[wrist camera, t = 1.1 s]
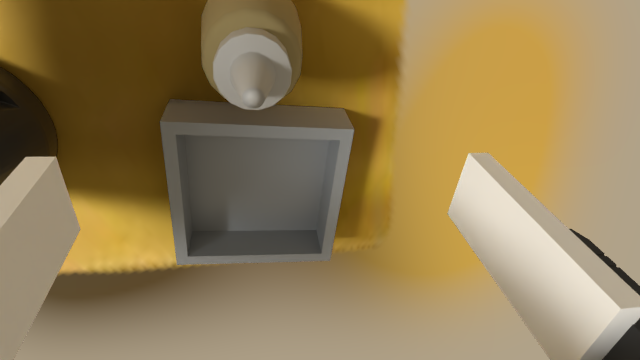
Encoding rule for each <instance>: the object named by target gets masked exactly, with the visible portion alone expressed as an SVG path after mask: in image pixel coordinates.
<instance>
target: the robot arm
mask: <svg viewBox="0 0 640 360" xmlns="http://www.w3.org/2000/svg"><path fill="white" fill-rule="evenodd" d="M57 148H58V143H57V135H56V131H55V128H54V125H53V122H52V120H51V118H50V116H49V114H48V112H47V111H46V109H45V108H44V106H43V105H42V103H41V102H40V101H39V100H38V98H37V97H36V96H35V95H34V94H33V93H32V92H31V91H30V90H29V89H28V88H27V87H26V86H25V85H24V84H23V83H22V82H21V81H19V80H18V79H17V78H16V77H14V76H13V75H12V74H10V73H9V72H7V71H6V70H4V69H3V68H1V67H0V360H14V358H15V356H16V354H17V352H18V350H19V348H20V346H21V344H22V343H23V341H24V339H25V337H26V335H27V333H28V331H29V329H30V327H31V325H32V323H33V321H34V319H35V317H36V315H37V313H38V311H39V309H40V307H41V306H42V303H43V302H44V299H45V297H46V296H47V294H48V292H49V290H50V288H51V286H52V284H53V282H54V280H55V278H56V276H57V274H58V272H59V270H60V268H61V266H62V264H63V262H64V261H65V259H66V257H67V255H68V253H69V251H70V249H71V247H72V245H73V243H74V241H75V239H76V237H77V235H78V233H79V231H80V226H79V223H78V220H77V217H76V214H75V211H74V209H73V206H72V203H71V200H70V197H69V194H68V191H67V188H66V185H65V182H64V179H63V176H62V173H61V170H60V167H59V164H58V161H57V158H56V156H57ZM448 215H449V217H450V218H451V220H452V221H453V222H454V224H455V225H456V227H457V228H458V229H459V231H460V232H461V234H462V235H463V237H464V238H465V240H466V241H467V242H468V244H469V245H470V247H471V248H472V249H473V251H474V252H475V254H476V255H477V257H478V258H479V259H480V261H481V262H482V264H483V265H484V267H485V268H486V269H487V271H488V272H489V273H490V275H491V276H492V278H493V279H494V281H495V282H496V284H497V285H498V286H499V288H500V289H501V291H502V292H503V293H504V295H505V296H506V298H507V299H508V301H509V302H510V303H511V305H512V306H513V308H514V309H515V311H516V312H517V313H518V315H519V316H520V318H521V319H522V320H523V322H524V323H525V325H526V326H527V328H528V329H529V330H530V332H531V333H532V335H533V336H534V337H535V339H536V340H537V342H538V343H539V345H540V346H541V347H542V349H543V350H544V352H545V353H546V354H547V356H548V357H549V358H550V360H640V286H639V285H638V284H637V283H636V282H635V281H634V280H632V279H631V278H630V277H629V276H628V275H627V274H626V273H625V272H624V271H623V270H622V269H620V268H617V267H616V264H615V263H614V262H613V261H611V259H610V258H608V257H607V256H604V253H603V252H602V251H601V250H600V249H599V248H598V247H596V246H595V245H594V244H593V243H592V242H591V241H590V240H589V239H587V238H585V237H584V236H582V235H580V234H579V233H577V232H575V231H574V230H572V229H568V228H567V227H566V226H565V225H564V224H563V223H562V222H561V221H560V220H559V219H558V218H557V217H556V216H554V215H553V214H552V213H551V212H550V211H549V210H548V209H547V208H546V207H545V206H544V205H543V204H542V203H541V202H540V201H539V200H537V199H536V198H535V197H534V196H533V195H532V194H531V193H530V192H529V191H528V190H527V189H526V188H525V187H524V186H523V185H522V184H521V183H519V182H518V181H517V180H516V179H515V178H514V177H513V176H512V175H511V174H510V173H509V172H508V171H507V170H506V169H504V167H503V166H501V165H500V164H499V163H498V162H497V161H496V160H495V159H494V158H493V157H492V156H491V155H490V154H489V153H469V154H468V156H467V159H466V162H465V165H464V168H463V171H462V173H461V176H460V179H459V182H458V185H457V188H456V191H455V193H454V196H453V199H452V202H451V205H450V208H449V210H448Z"/></svg>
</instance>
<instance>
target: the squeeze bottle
mask: <svg viewBox="0 0 640 360" xmlns="http://www.w3.org/2000/svg"><path fill="white" fill-rule="evenodd" d="M201 56H202V68H203V70H204V72H205V74H206V77H207V79H208V81H209V83H210V85H211V86H212V87H213V88H214V89H215V90H216V91H217V92H218V93H219V94H220V95H221V96H222V97H223V98H224V99H227V100H228V101H229V102H230V103H231V104H233V105H236V106H238V107H240V108H242V109H247V110H262V109H265V108H268V107H271V106H273V105H275V104H276V103H277V102H278V101H280V100H281V99H282V98H283V97H285V96H286V95H287V94H288V93H290V92H291V91H292V89H293V88H294V86H295V84H296V82H297V80H298V78H299V77H300V75H301V66H302V56H303V54H302V32H301V24H300V20H299V17H298V13H297V9H296V6H295V5H294V4H293V2H292V1H291V0H207V3H206V5H205V8H204V10H203V13H202V16H201Z"/></svg>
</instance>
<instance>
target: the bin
mask: <svg viewBox="0 0 640 360" xmlns="http://www.w3.org/2000/svg"><path fill="white" fill-rule="evenodd" d="M160 128H161V136H162V144H163V152H164V161H165V169H166V177H167V185H168V194H169V202H170V210H171V218H172V227H173V235H174V243H175V251H176V259H177V265H185V264H223V263H262V262H298V261H300V262H301V261H330V258H331V253H332V248H333V242H334V237H335V232H336V226H337V221H338V215H339V210H340V205H341V199H342V194H343V188H344V183H345V178H346V172H347V167H348V161H349V156H350V151H351V145H352V140H353V134H354V128H353V126H352V124H351V122H350V120H349V118H348V116H347V114H346V112H345V110H344V108H328V107H309V106H289V105H273V106H271V107H268V108H265V109H262V110H247V109H242V108H240V107H238V106H236V105H233V104H231V103H230V102H213V101H194V100H175V99H170V100H169V102H168V104H167V106H166V109H165V111H164V113H163V115H162V118H161V120H160Z"/></svg>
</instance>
